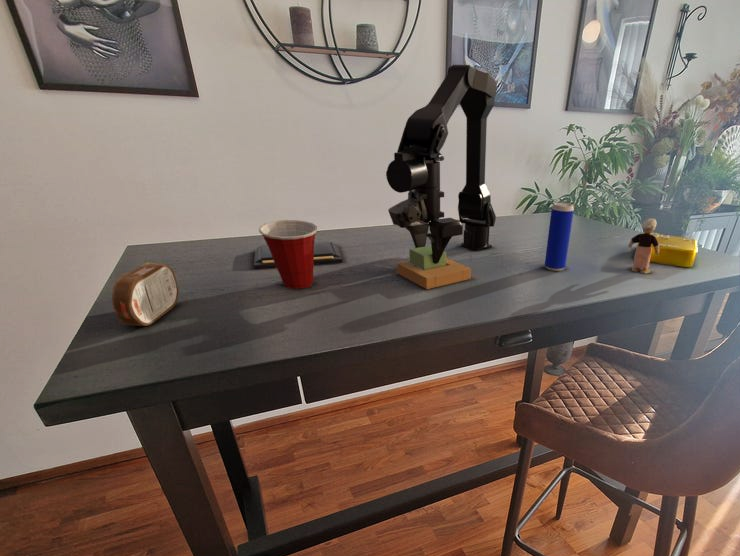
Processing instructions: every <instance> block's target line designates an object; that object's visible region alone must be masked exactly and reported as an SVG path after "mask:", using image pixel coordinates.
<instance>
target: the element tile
mask: <svg viewBox="0 0 740 556" xmlns="http://www.w3.org/2000/svg"><path fill="white" fill-rule="evenodd" d="M651 235H653V236H655V237H656V239H657V241H658V244H659V253H658V254H656V253H655V249H654V246H653V245H652V244H651V248H652V250H651V257H650V262H649V263H654V264H661V265H667V266H673V267H681V268H691V267H693V266H694V263H695V261H696V257H697V254H698V242H697V240H696V239H695V238H690V237H684V236H683V237H682V236H676V235H675V236H674V235H667V234H660V233H657V232H652V233H651ZM638 244H639V243H636V249H637V246H638ZM636 249H635V250H636Z"/></svg>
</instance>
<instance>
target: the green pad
mask: <svg viewBox="0 0 740 556" xmlns="http://www.w3.org/2000/svg"><path fill="white" fill-rule="evenodd" d="M408 249H409V263H410V264H412V265H414V266H416V267H418V268H420V269H422V270H428V269H433V268H436V267H441V266H446V258H447V251H445V250H444V252H443V254H442V256H441V258H440V261H439V263H437V264H434V263H433V257H432V247H431V244H430V245H425V246H424V247H418V248H415V247H413V248H408Z"/></svg>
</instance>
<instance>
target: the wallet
mask: <svg viewBox="0 0 740 556" xmlns="http://www.w3.org/2000/svg"><path fill="white" fill-rule="evenodd" d="M337 263H343V257H342V254H341V251H340V247H339V246H338V244H337V243H335V242H333V241H329V240H326V241H325V240H323V241H322V240H321V241H314V265H323V264H337ZM253 268H254V269H269V268H277V267H276V265H275V262H274V260H273V257H272V255H271V252H270V250H269V247H268V245H267V244H261V245H259V246H257V247H256V248H255V249H254V260H253Z"/></svg>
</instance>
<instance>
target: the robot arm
mask: <svg viewBox="0 0 740 556" xmlns="http://www.w3.org/2000/svg"><path fill="white" fill-rule="evenodd" d="M497 91H498V84H497V80H496V79H495V78H494V76H493V75H492V73H491V72H484V71H481V70H479V69H476V68H475V66H472V65H470V64H452V65H450V66H449V67H448V69H447V74H446V75H445V78H444V79H443V81H442V82H441V83H440V85H439V87H438V88H437V90H436V91H435V93H434V95H433V96H432V97H431V99H430V101H429V102H428V103H427V104H426V105H424V106H422V107H421V108H418V109H416V110H415V111H414V112H413V113H412V114H411V115H410V116H409V117H408V118H407V120H406V121H405V124H404V128H403V131H402V135H401V138H400V142H399V144H398V148H397V152H394V153H393V157H394V158H393V160H391V161H390V163H388V166H387V168H386V172H385V173H386V174H385V177H386V181H387V183H388V185H389V186H390V188H391V189H392V190H393V191H394V192H396V193H400V194H402V193H407V199H405V200H402V201H399V202H398V203H396V204H395V205H393V206H391V207H389V208H388V210H387V211H388V213H389V217H390V219H391V221H392V225H394V226H398V227H399V228H401V229H406V231H408V232H409V235H410V236H411V239H412V242H413V244H414V248H418V247H424V246H427V245H426V244H427V238H428V239H429V241H430V245H431V247H432V257H433V263H434V264H437V263H439V261H440V258H441V256H442V254H443V252H444V251H445V250H446V248H447V246H448V244H449V243H450V241H451V239H452V238H453V237H457V236H462V235H463V242H461V243H460V246H462V247H464V248H467V249H468V250H471V251H480V250H485V249H491V248H493V245H492V244H489V241H490V227H495V224H496V218H497V215H496V213H495V210H494V207H493V205H492V203H491V192H490V191H489V189H488V187H487V185H486V182H485V181H486V157H487V156H486V155H487V152H486V151H487V126H488V125H487V124H488V123H487V122H488V117H489V115H490V113H492V110H493V109H494V106H495V100H496V99H495V98H496V95H497ZM458 106H460V107H461V110H462V113H463V114H464V116H465V118H466V119H465V120H466V125H465V126H466V127H465V128H466V132H465V133H466V136H465V137H466V140H465V141H466V142H465V146H466V147H465V150H466V151H465V152H466V153H465V184H464V187H463V188H462V189H461V191H459V192H458V194H457V195H458V196H457V198H458V203H457V212H458V218H459V219H455V218H452V217H445V212H444V211H441V198H445V191H442V190H441V162H443V161H445V157H444V155H443V154H442V153H441V150H442V149H443V147H444V144H445V143H446V141H447V139H448V136H449V129H448V124H449V121H450V120H451V117H452V116H453V114H454V113H455V111H456V110H457V108H458ZM429 232H430V233H429Z"/></svg>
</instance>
